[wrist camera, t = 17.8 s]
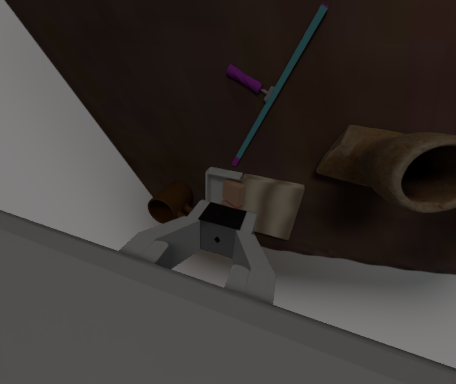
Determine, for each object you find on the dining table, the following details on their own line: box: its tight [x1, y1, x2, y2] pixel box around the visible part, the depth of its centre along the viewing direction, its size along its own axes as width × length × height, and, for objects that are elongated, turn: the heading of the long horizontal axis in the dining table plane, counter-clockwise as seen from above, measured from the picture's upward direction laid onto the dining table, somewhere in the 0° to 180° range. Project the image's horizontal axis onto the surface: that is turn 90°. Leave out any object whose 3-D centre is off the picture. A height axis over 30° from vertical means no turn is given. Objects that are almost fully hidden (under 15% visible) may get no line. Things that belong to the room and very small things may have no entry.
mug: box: [148, 182, 194, 224], centre depth 47 cm, size 12×8×9 cm, turn 75°
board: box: [241, 174, 304, 240], centre depth 44 cm, size 13×14×2 cm
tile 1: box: [222, 178, 245, 207], centre depth 43 cm, size 5×5×2 cm
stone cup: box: [316, 125, 456, 213], centre depth 27 cm, size 15×12×15 cm
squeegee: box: [226, 3, 328, 167], centre depth 35 cm, size 29×2×10 cm
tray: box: [206, 167, 243, 204], centre depth 46 cm, size 8×14×3 cm, turn 176°
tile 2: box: [221, 199, 242, 210], centre depth 46 cm, size 5×5×2 cm
